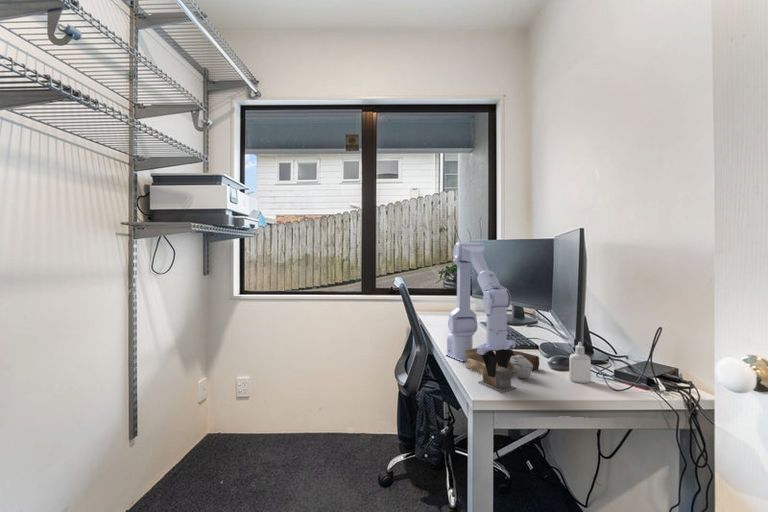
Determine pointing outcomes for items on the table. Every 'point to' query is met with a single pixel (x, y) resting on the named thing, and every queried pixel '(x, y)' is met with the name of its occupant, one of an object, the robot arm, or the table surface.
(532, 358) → the brick
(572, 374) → the eye dropper bottle
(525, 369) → the grey faceted rock
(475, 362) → the carton
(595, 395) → the table surface
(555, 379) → the table surface
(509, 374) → the box
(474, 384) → the table surface
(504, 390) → the mat
